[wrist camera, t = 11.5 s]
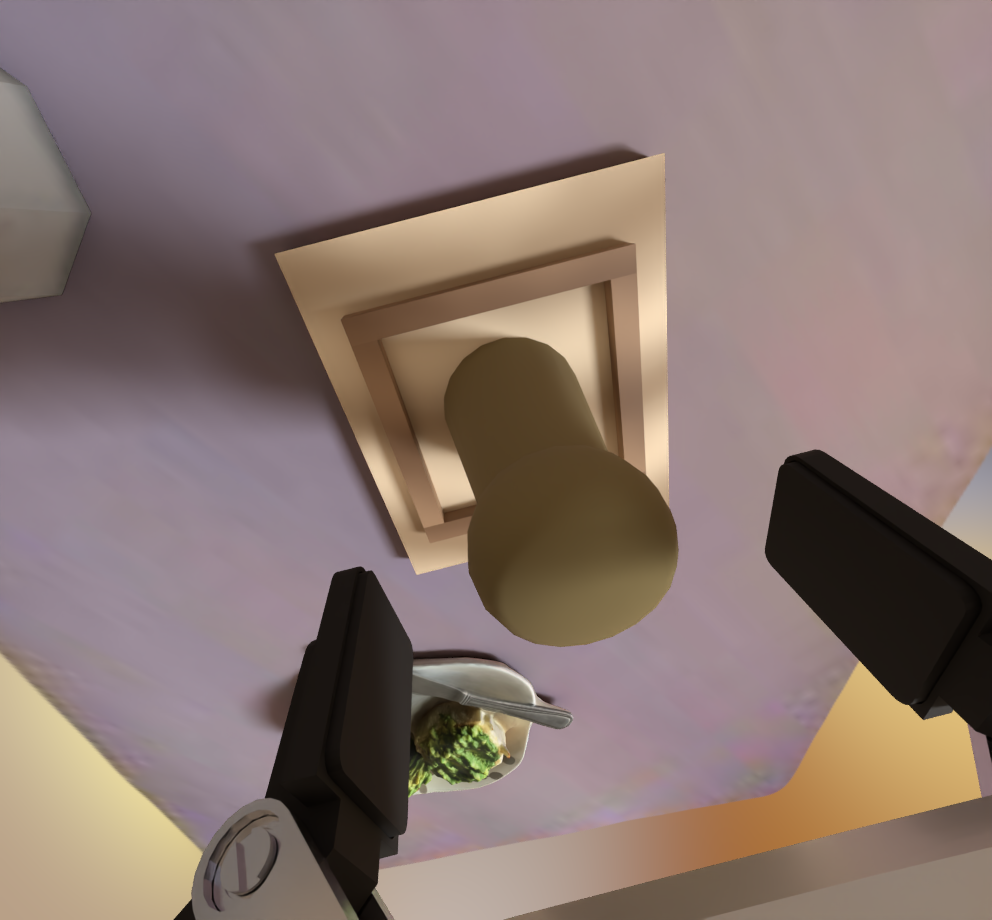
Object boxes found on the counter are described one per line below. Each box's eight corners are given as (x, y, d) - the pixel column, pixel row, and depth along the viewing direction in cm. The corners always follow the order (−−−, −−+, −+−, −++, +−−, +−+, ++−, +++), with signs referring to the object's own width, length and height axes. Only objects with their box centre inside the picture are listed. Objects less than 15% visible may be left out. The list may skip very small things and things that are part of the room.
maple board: (284, 251, 16) (266, 255, 14) (649, 156, 16) (675, 150, 14) (417, 559, 24) (416, 585, 22) (659, 497, 24) (676, 519, 22)
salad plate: (587, 625, 29) (610, 689, 26) (546, 763, 38) (559, 826, 34) (287, 637, 26) (261, 712, 22) (317, 783, 35) (302, 856, 31)
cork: (416, 378, 18) (395, 567, 8) (549, 309, 17) (693, 430, 8) (481, 485, 21) (521, 713, 11) (597, 430, 20) (742, 624, 11)
